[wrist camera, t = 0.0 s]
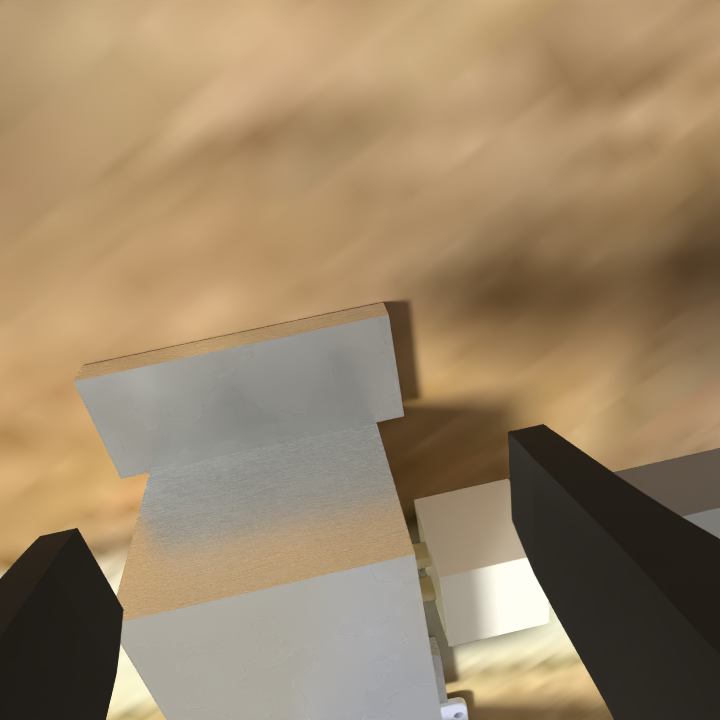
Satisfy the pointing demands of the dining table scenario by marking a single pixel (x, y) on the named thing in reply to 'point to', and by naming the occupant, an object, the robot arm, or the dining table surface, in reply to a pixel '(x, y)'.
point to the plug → (505, 552)
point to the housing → (269, 525)
